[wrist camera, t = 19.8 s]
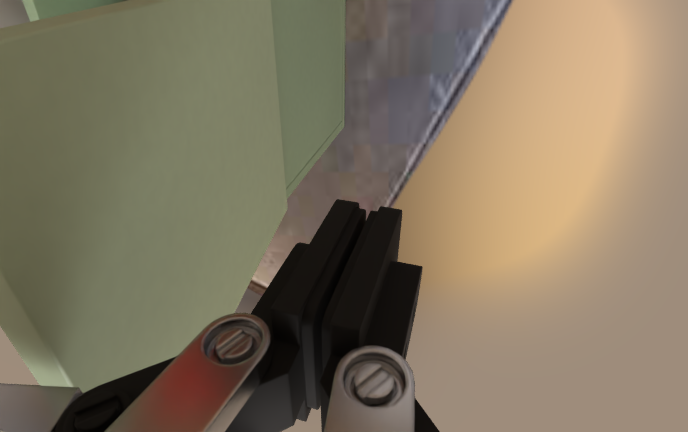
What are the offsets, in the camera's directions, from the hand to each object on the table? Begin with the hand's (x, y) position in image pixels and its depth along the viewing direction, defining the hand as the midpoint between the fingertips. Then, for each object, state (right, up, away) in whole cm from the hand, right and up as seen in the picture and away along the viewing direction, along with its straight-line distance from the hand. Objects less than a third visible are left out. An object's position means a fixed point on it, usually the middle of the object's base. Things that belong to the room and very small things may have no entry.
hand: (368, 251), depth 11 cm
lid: (-6, +2, +3) cm, 7 cm away
